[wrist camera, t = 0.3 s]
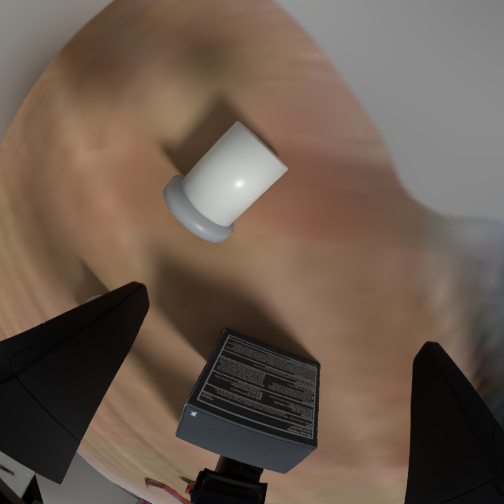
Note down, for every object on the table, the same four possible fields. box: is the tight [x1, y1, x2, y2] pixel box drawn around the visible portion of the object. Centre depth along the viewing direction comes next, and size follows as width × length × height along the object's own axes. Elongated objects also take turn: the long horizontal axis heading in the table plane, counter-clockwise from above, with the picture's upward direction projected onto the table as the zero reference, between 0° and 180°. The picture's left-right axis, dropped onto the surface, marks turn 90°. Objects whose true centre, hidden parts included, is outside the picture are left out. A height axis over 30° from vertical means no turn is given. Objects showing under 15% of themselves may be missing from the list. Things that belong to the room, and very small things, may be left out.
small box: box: [175, 328, 321, 474], centre depth 22 cm, size 11×6×10 cm, turn 70°
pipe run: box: [84, 121, 288, 304], centre depth 23 cm, size 30×6×6 cm, turn 134°
